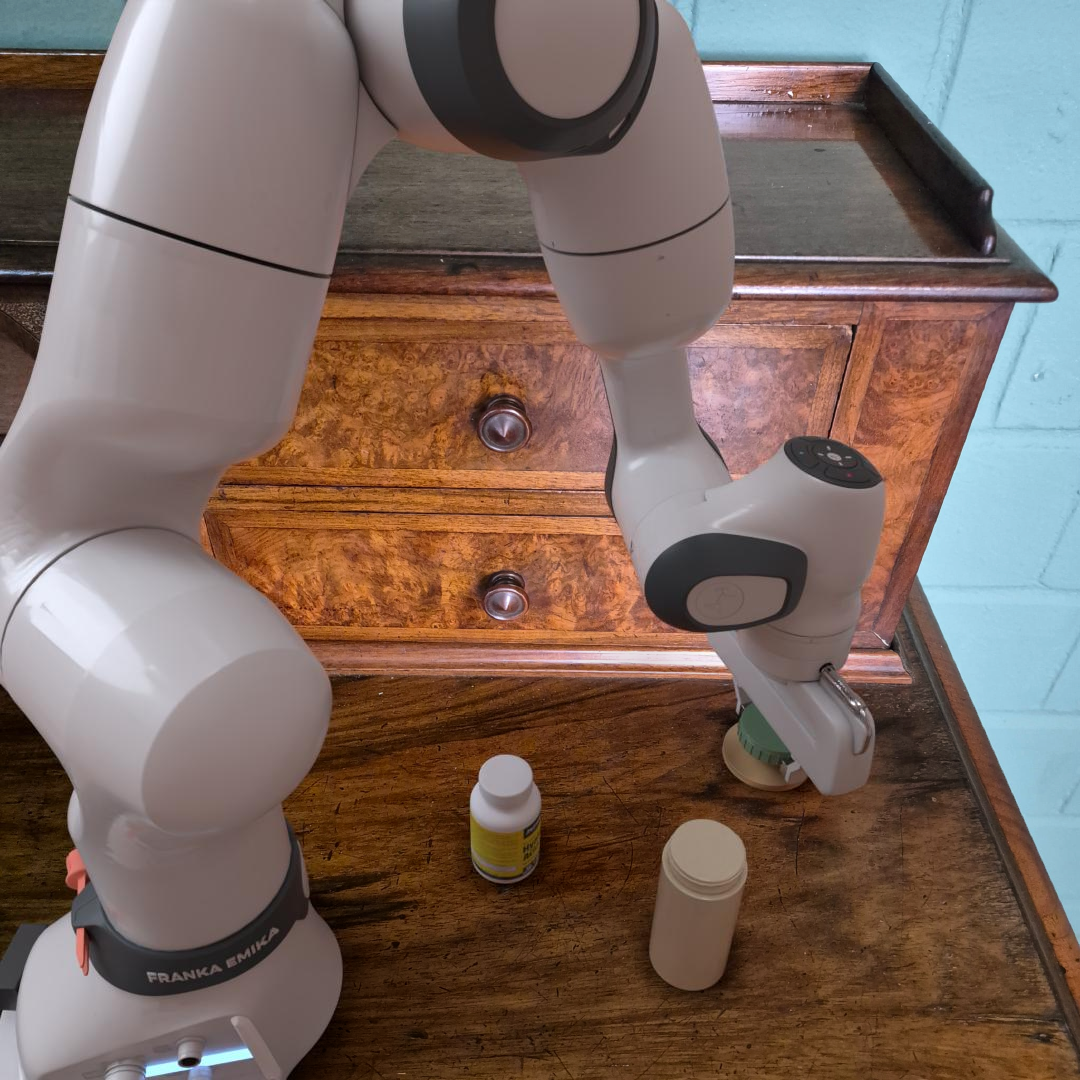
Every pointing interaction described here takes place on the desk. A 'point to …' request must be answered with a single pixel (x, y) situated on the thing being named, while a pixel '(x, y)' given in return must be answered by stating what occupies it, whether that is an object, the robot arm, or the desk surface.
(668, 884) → the jar
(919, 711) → the desk surface
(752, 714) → the jar lid
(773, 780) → the coaster
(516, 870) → the supplement bottle
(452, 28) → the robot arm
